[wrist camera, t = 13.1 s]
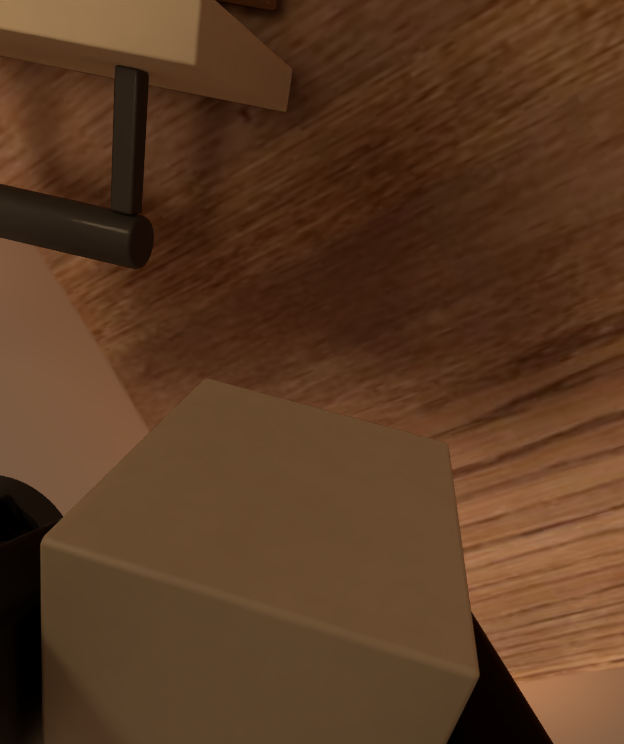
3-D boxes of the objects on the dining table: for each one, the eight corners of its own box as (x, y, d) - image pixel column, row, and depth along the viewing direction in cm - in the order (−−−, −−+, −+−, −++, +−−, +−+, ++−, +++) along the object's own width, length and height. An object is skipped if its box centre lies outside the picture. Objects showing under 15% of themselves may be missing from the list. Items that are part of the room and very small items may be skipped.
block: (383, 625, 9) (365, 913, 6) (180, 562, 10) (39, 797, 6) (450, 441, 8) (484, 678, 4) (204, 375, 8) (36, 538, 5)
